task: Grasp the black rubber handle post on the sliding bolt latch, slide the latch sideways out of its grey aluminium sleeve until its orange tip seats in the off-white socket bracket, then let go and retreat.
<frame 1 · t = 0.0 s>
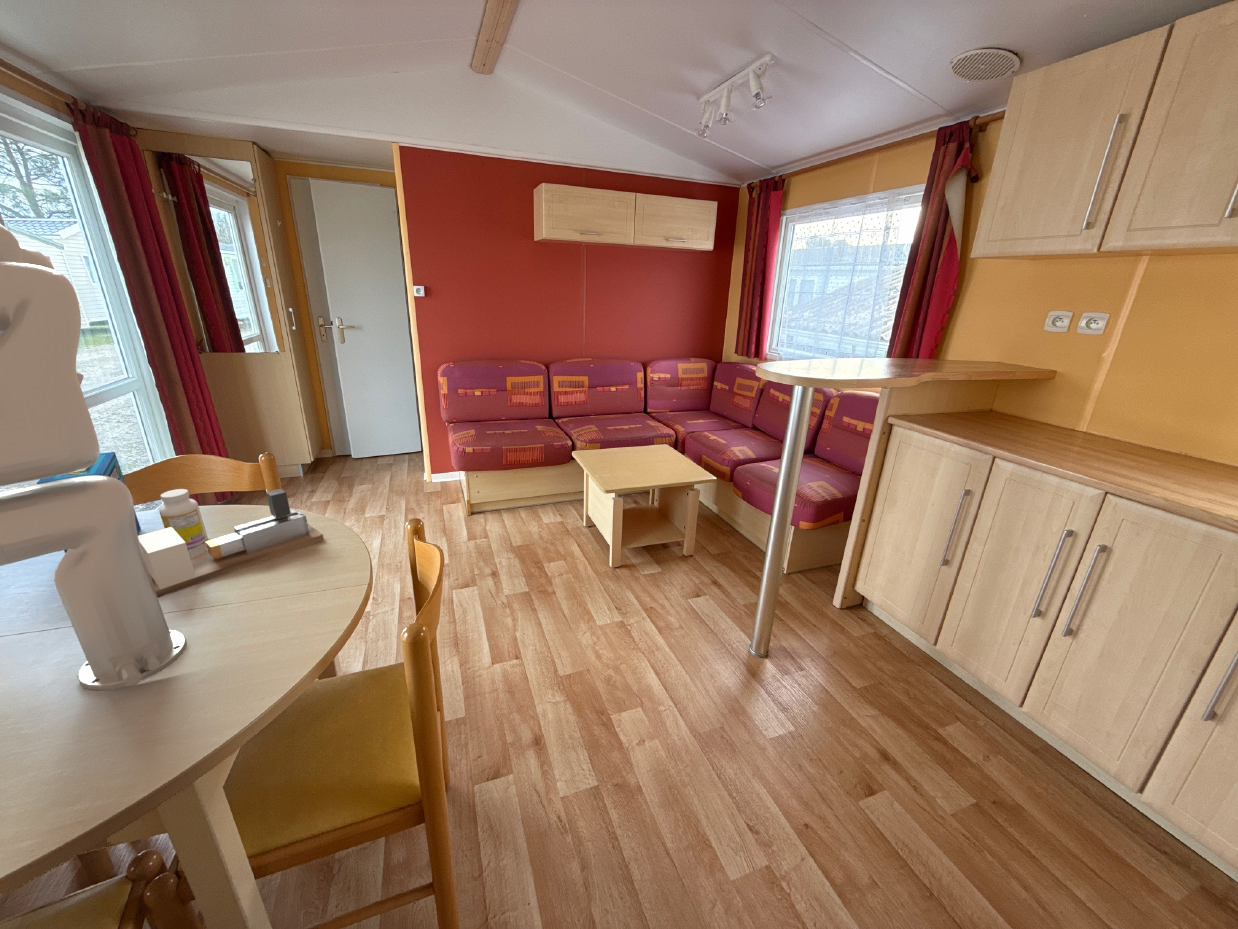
hand: (32, 422, 94), 31 cm above the table, fingers open, 9 cm apart
supplement bottle: (190, 544, 114), on the table
socket bracket: (171, 574, 100), resting on base board
box: (109, 549, 111), on the table
outer sleeve: (276, 540, 114), resting on base board
base board: (240, 558, 109), on the table
sliding bolt latch: (252, 521, 109), point 8 cm above the table, slide at 0.0 cm
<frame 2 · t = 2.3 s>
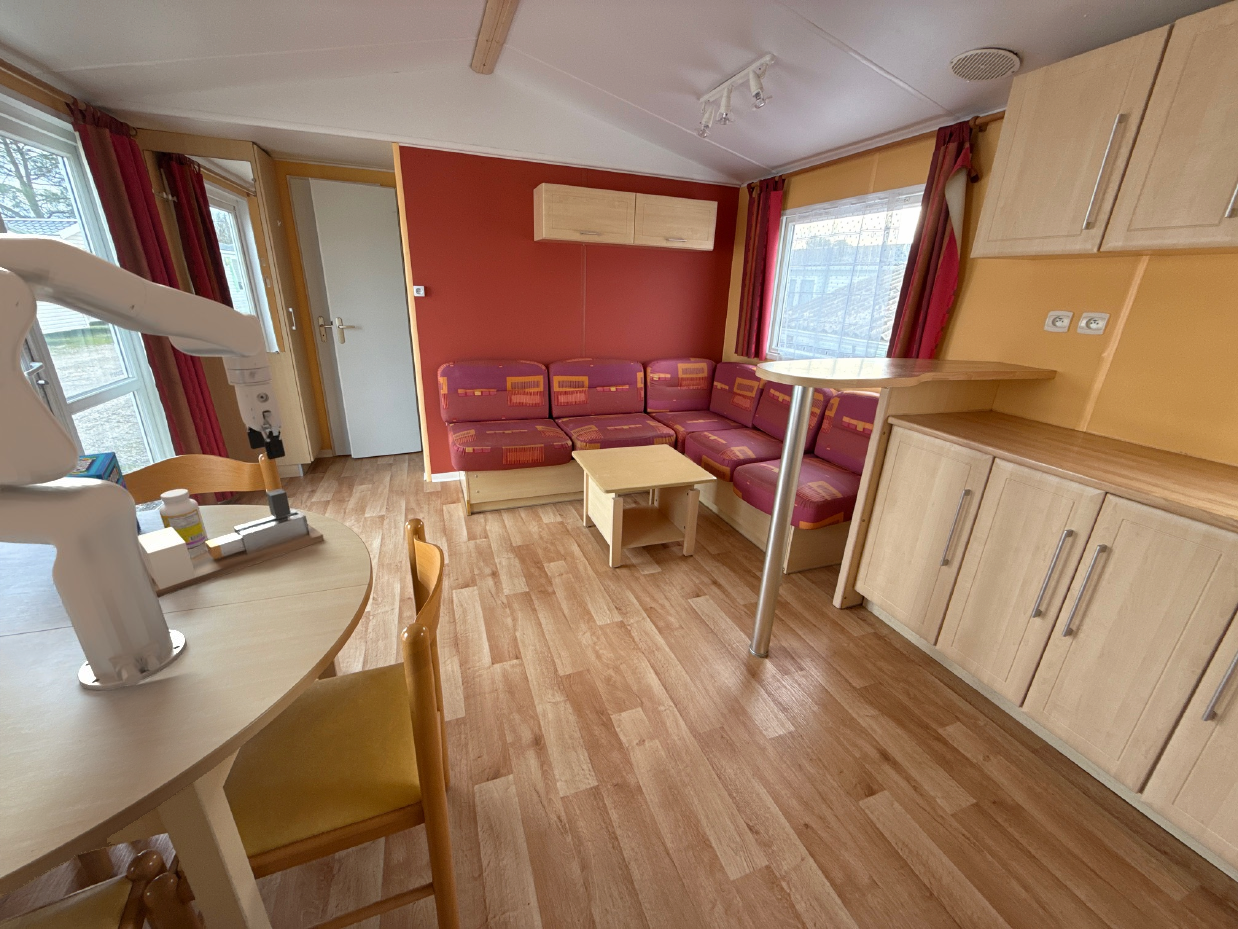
hand: (268, 452, 108), 22 cm above the table, fingers open, 9 cm apart
nothing on the table moved.
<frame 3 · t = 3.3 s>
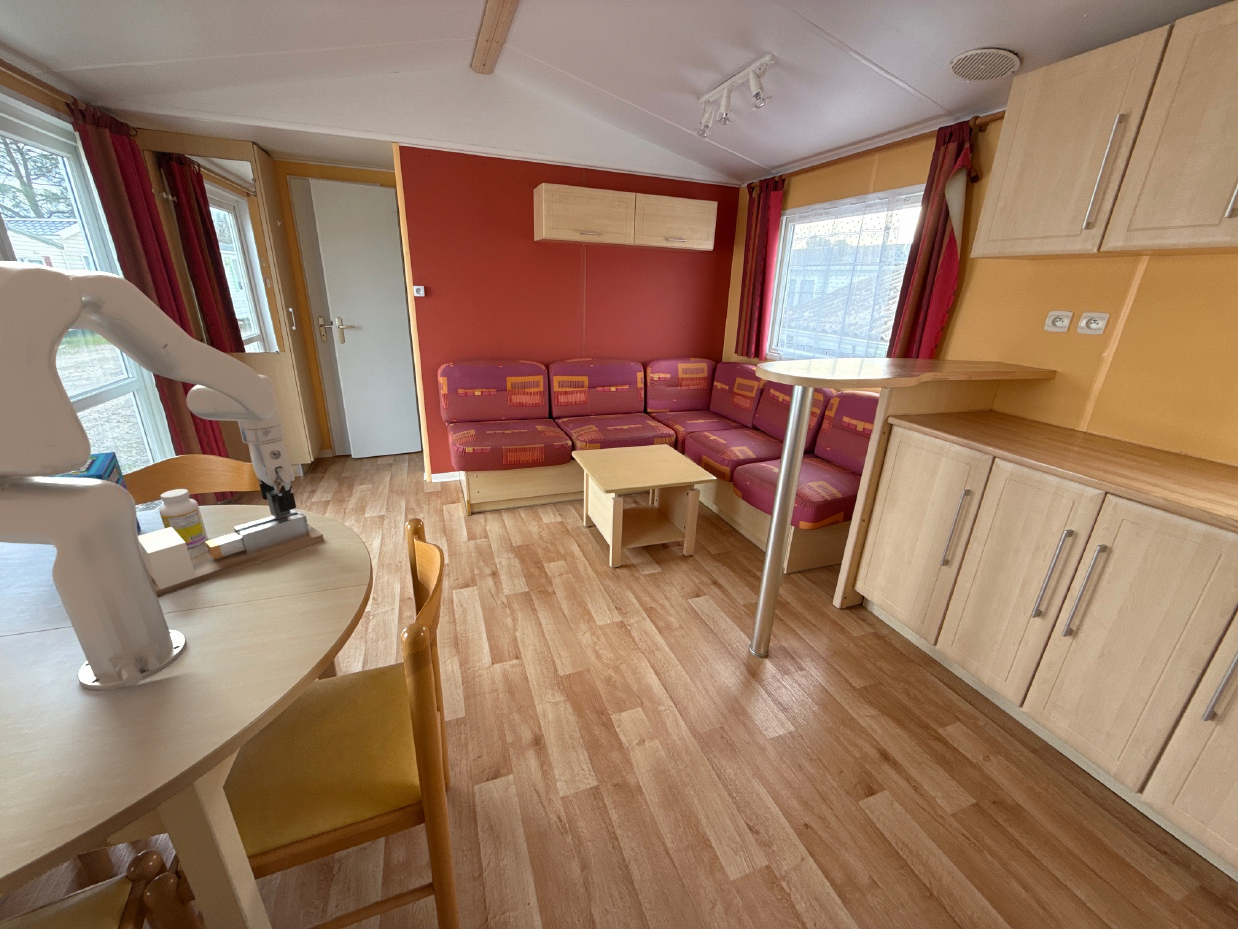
hand: (279, 503, 112), 10 cm above the table, fingers open, 9 cm apart
nothing on the table moved.
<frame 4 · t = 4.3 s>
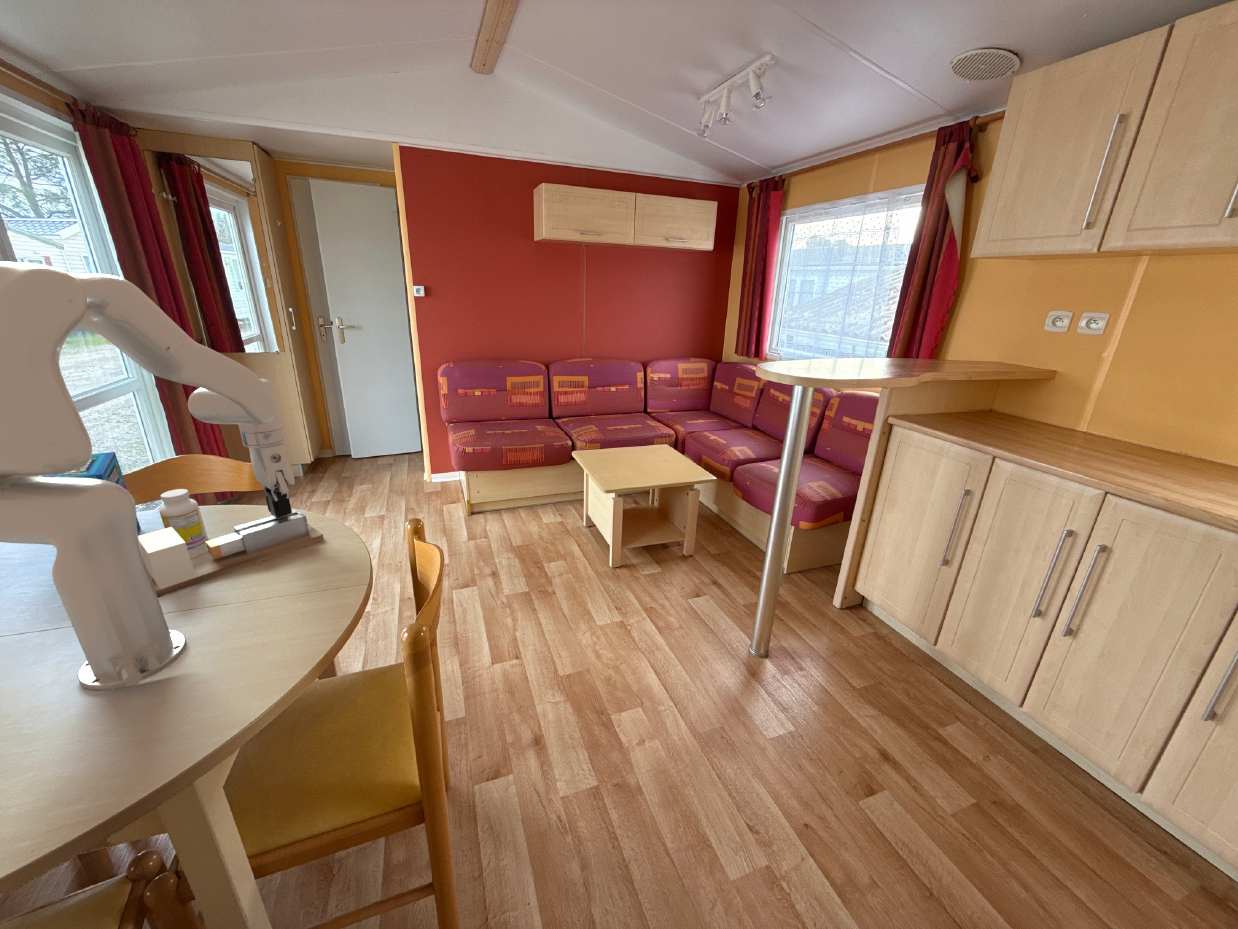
hand: (280, 511, 113), 8 cm above the table, fingers closed on sliding bolt latch, 3 cm apart
sliding bolt latch: (252, 521, 109), point 8 cm above the table, slide at 0.0 cm, touching gripper
everything else where it was.
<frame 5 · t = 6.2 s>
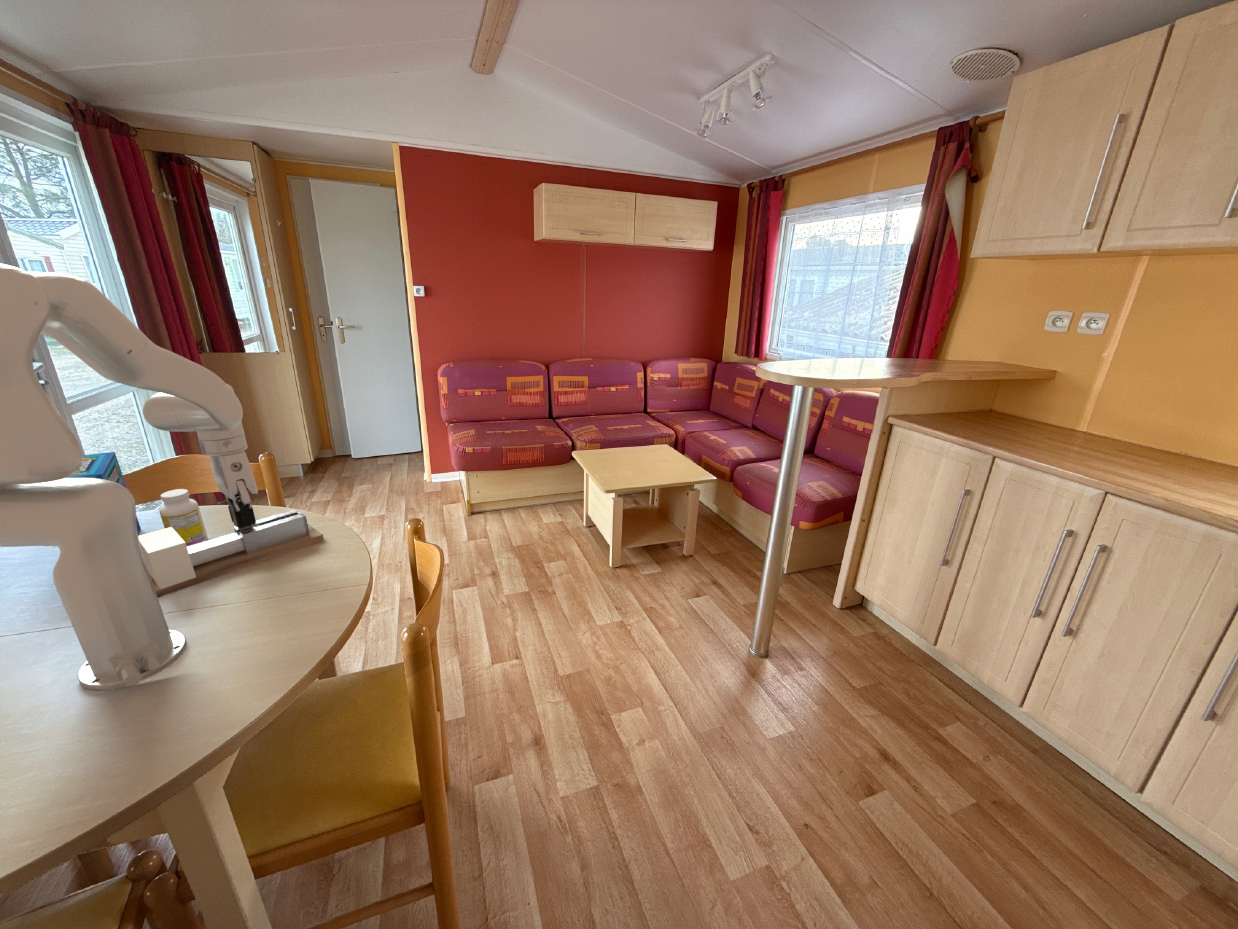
hand: (244, 522, 108), 8 cm above the table, fingers closed on sliding bolt latch, 3 cm apart
sliding bolt latch: (213, 532, 103), point 8 cm above the table, slide at 7.1 cm, touching gripper
everything else where it was.
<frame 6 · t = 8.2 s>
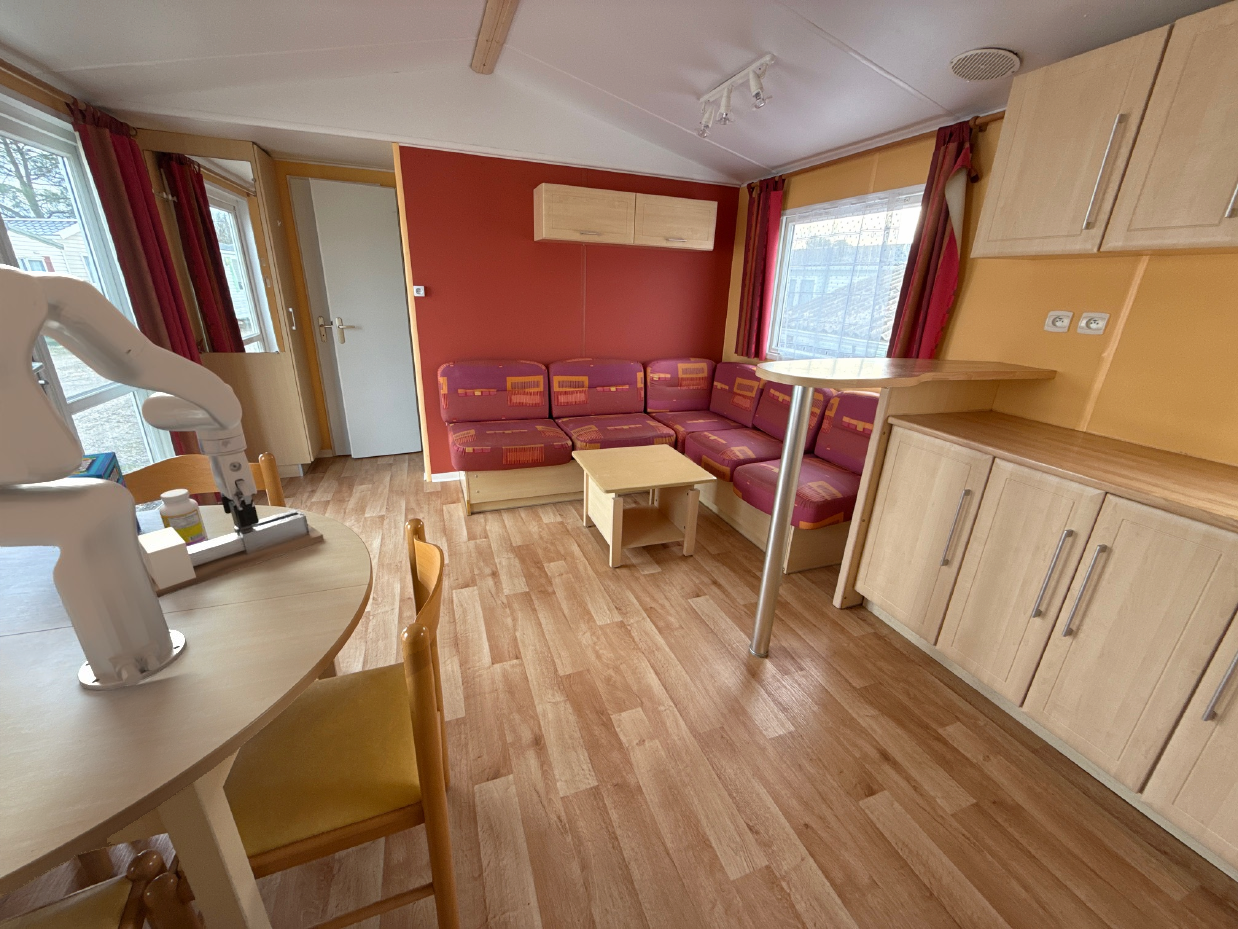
hand: (241, 518, 107), 9 cm above the table, fingers open, 9 cm apart
sliding bolt latch: (213, 532, 104), point 8 cm above the table, slide at 7.0 cm
everything else where it was.
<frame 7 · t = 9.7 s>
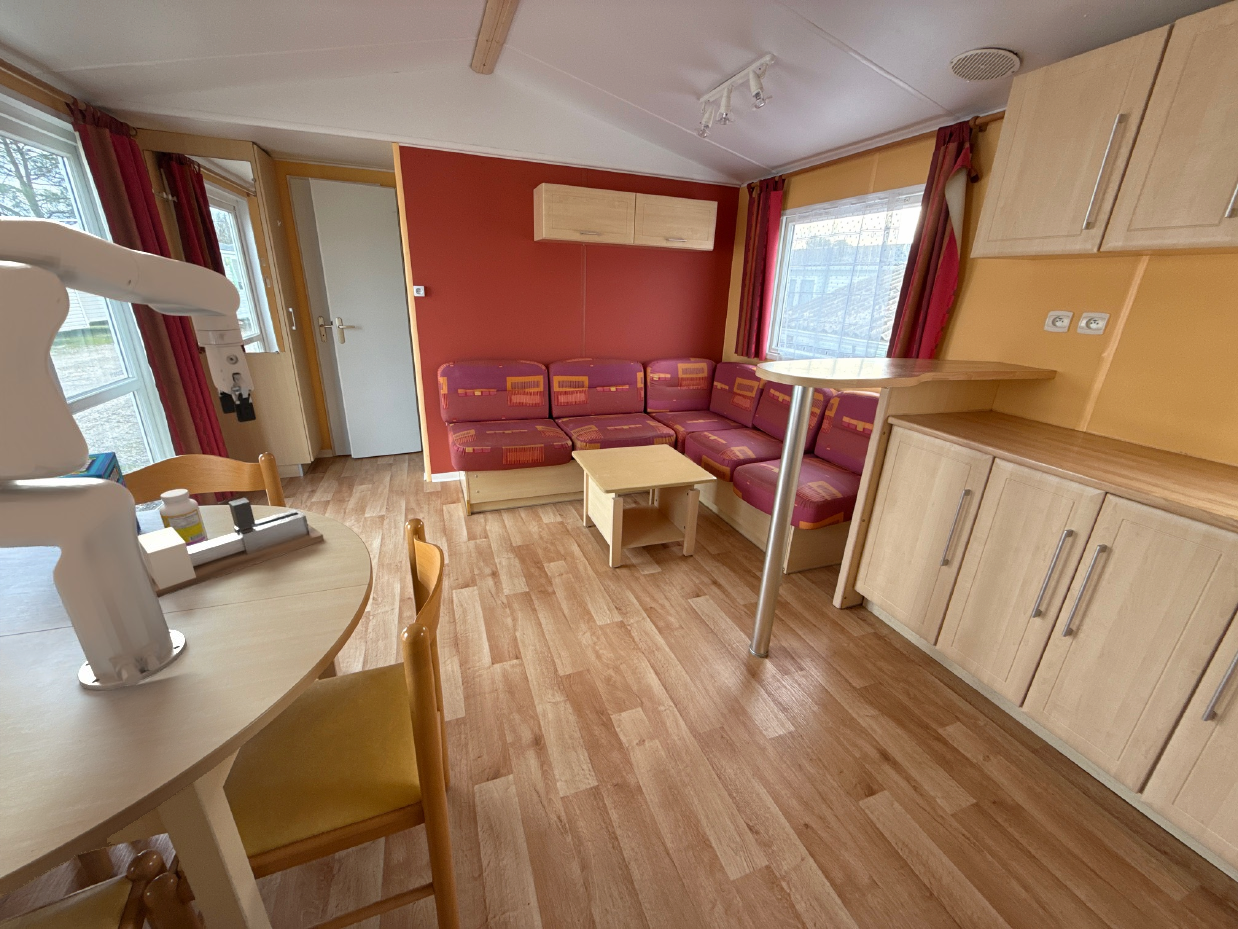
hand: (239, 416, 109), 29 cm above the table, fingers open, 9 cm apart
nothing on the table moved.
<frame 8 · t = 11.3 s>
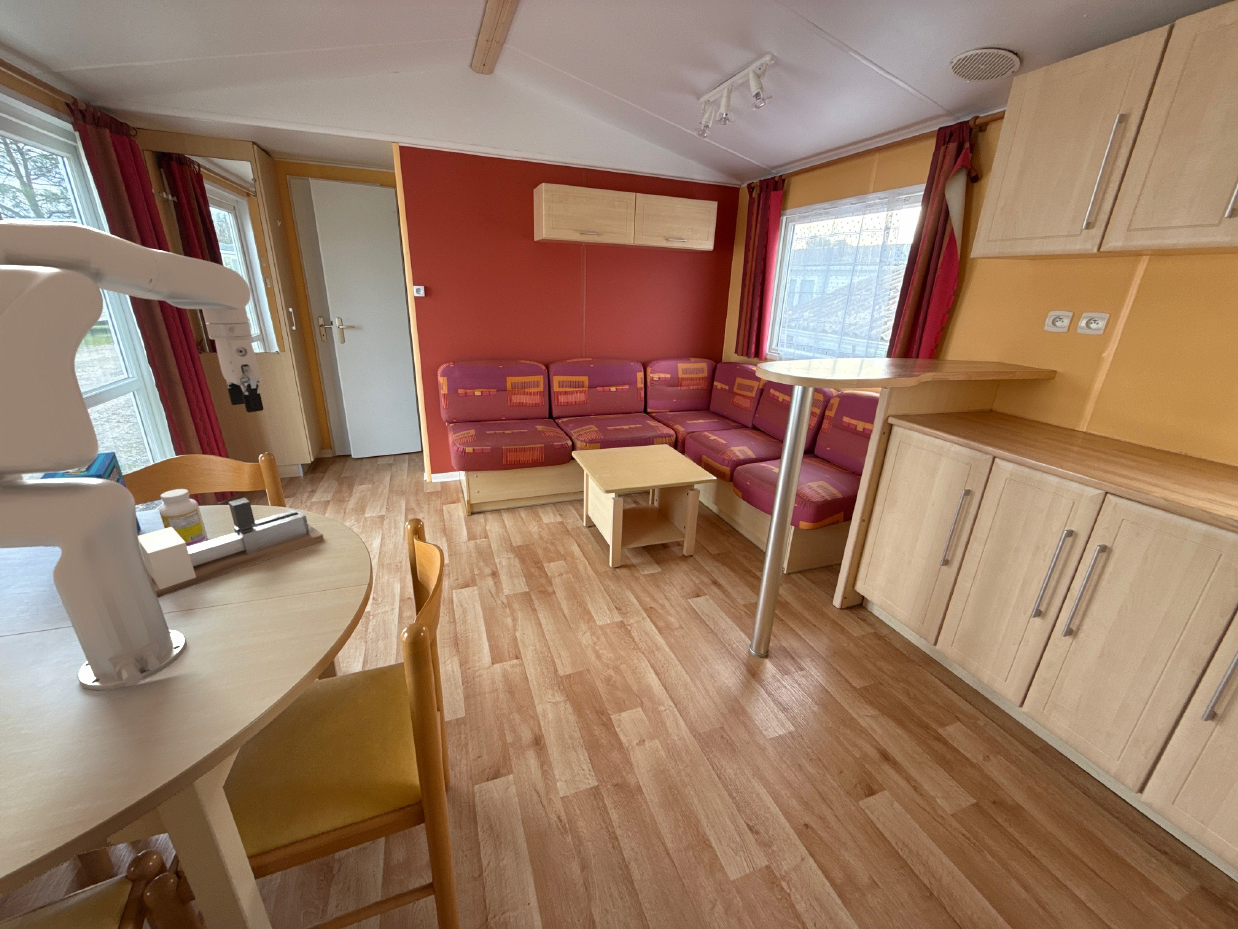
hand: (247, 407, 113), 30 cm above the table, fingers open, 9 cm apart
nothing on the table moved.
at the end: sliding bolt latch slide at 7.0 cm; the gripper is holding nothing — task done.
